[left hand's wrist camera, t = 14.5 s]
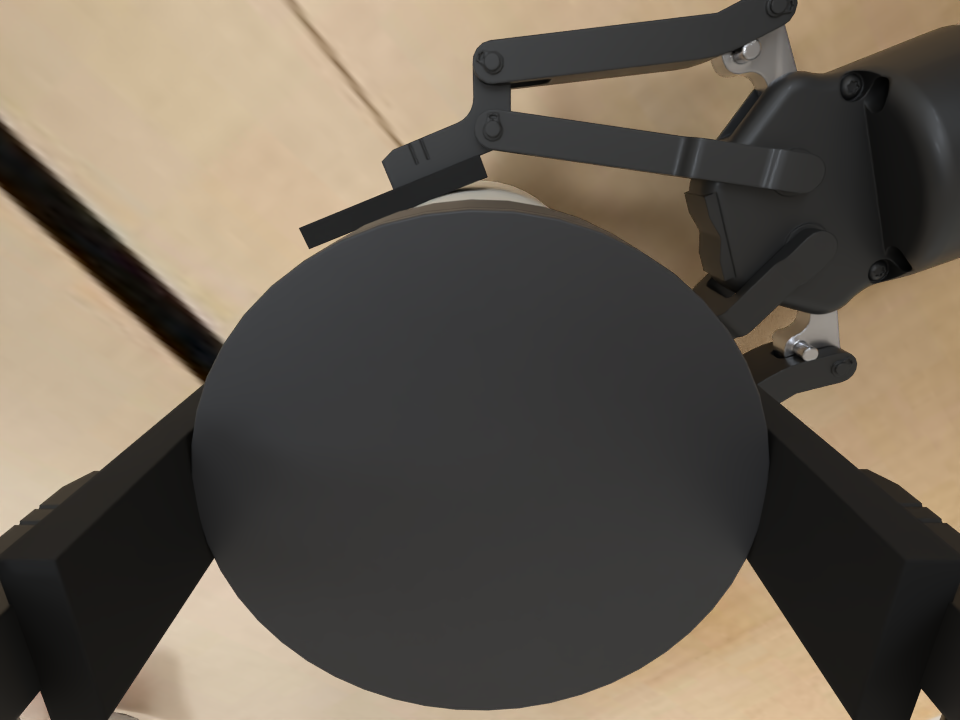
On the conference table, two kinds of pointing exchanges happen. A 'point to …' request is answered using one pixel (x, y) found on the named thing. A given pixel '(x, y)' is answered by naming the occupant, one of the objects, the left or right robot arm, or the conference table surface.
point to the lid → (480, 457)
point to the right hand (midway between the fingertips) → (374, 358)
